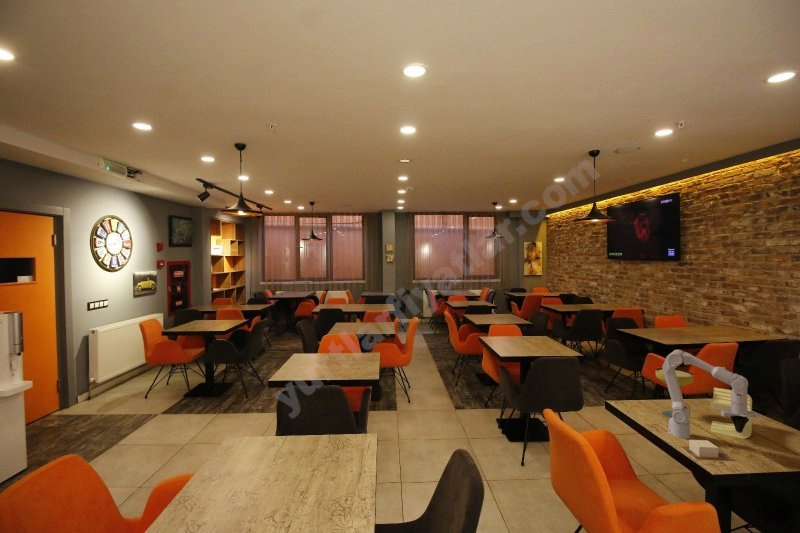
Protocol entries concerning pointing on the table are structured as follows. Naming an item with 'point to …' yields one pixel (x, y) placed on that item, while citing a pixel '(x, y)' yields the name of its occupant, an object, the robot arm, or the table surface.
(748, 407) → the slatted curved stool
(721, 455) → the brown flat slab
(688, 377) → the cocktail glass
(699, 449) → the carton
